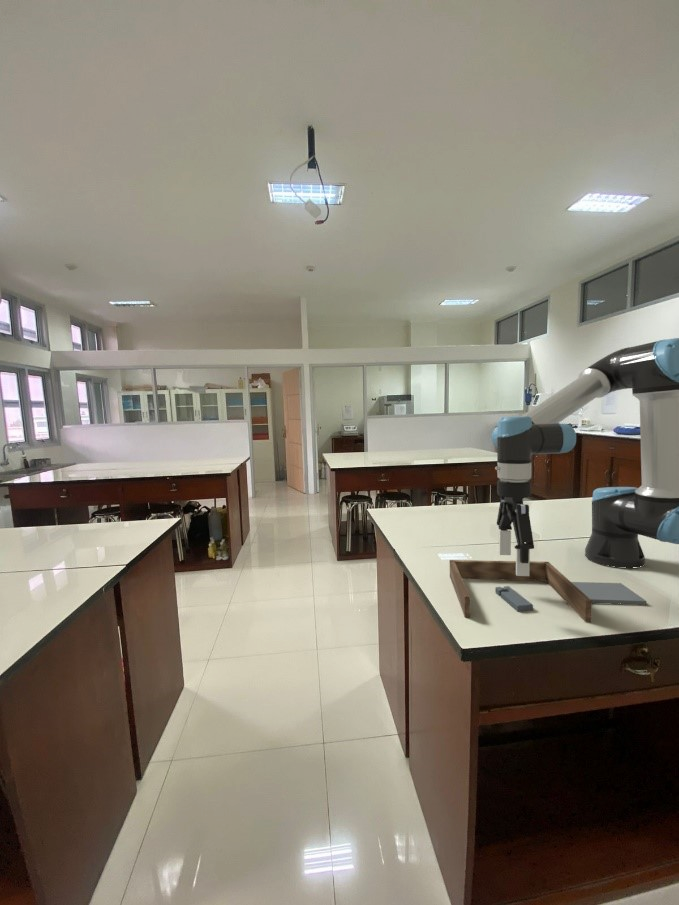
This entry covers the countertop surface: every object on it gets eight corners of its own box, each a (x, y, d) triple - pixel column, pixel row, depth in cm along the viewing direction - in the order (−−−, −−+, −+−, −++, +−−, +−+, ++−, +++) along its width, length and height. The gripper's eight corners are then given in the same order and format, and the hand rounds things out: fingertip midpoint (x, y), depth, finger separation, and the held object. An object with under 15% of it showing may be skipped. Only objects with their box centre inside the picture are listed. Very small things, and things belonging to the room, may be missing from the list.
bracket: (517, 614, 87) (518, 605, 87) (494, 594, 98) (494, 586, 97) (533, 612, 88) (533, 604, 88) (508, 593, 98) (509, 585, 98)
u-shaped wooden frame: (548, 578, 105) (548, 561, 104) (591, 622, 82) (591, 600, 81) (449, 576, 108) (449, 560, 108) (464, 617, 86) (464, 596, 85)
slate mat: (620, 586, 98) (621, 583, 98) (646, 605, 88) (646, 601, 88) (564, 585, 100) (564, 581, 100) (582, 603, 90) (582, 599, 90)
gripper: (485, 473, 103) (485, 547, 105) (514, 488, 79) (513, 585, 80) (513, 472, 102) (513, 547, 104) (551, 488, 78) (550, 586, 79)
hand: (513, 564), depth 92 cm, fingers open, 13 cm apart
